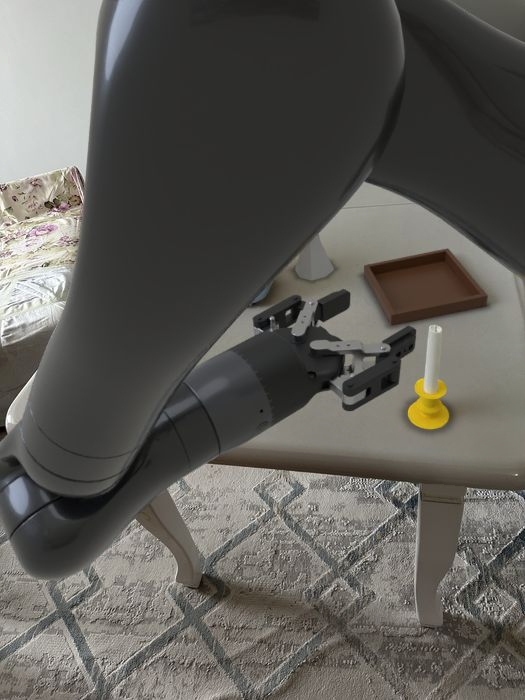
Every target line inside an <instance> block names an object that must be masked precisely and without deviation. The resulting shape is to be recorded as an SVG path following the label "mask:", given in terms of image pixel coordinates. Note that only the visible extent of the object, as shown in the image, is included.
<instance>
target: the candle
mask: <svg viewBox="0 0 525 700" xmlns="http://www.w3.org/2000/svg"><path fill="white" fill-rule="evenodd" d="M426 344H427V345H426V355H425V356H426V357H425V365H424V366H425V367H424V377H422V378H420V379H418V380H417V381H416V382H415V383H414V391H415V394H417V395H418V396H419V397H418V398H417V400H416V401H415V402H413V403H412V404H411V405H410V406H409V407H408V410H407V416H408V419H409V421H410V422H411V423H412V424H413V425H414V426H416V427H417V428H420V429H424V430H438V429H441V428H442V427H444V426H446V424H447V423H448V422H449V419H450V412H449V410H448V408H447V407H446V406H445V405H444V404H443V403H442V400H441V398H443V397H444V396H446V394H447V391H448V389H447V388H448V387H447V385H446V383H445V382H444V381H443V380H441V379H440V371H441V370H440V368H441V358H442V347H443V329H442V327H441V326H440V325H437V324H430V325H429V327H428V333H427V343H426Z"/></svg>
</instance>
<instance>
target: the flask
mask: <svg viewBox="0 0 525 700" xmlns="http://www.w3.org/2000/svg"><path fill="white" fill-rule="evenodd" d="M329 258H330V257H328V254H327V252H326V250H325V248H324V245H323V244H322V241H321V238H320V233H319V234H318V235H317V236H316V237H315V238H314V239H313V240H312V241H311V242H310V243H309V244H308V245H307V246H306V247H305V248H304V250H303V251H302V252H301V253H300V254H299V255H298V259H297V261H296V265H295V268H294V270H295V272H296V274H297V276H298V277H299V278H301V279H304V280H308V281H311V282H312V281H316V280H319V279H323V278H326V277H327V276H329V275H330V274H331V273H332V272H333V271H334V270H335V267H334V266H333V264H332V262H331V260H330V259H329Z"/></svg>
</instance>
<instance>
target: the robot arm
mask: <svg viewBox="0 0 525 700" xmlns="http://www.w3.org/2000/svg"><path fill="white" fill-rule="evenodd" d="M94 47H95V50H94V64H93V77H92V89H91V92H92V93H91V103H90V113H89V114H90V115H89V116H90V117H89V129H88V141H87V154H86V166H85V167H86V168H85V179H84V188H83V189H84V191H83V201H82V211H81V221H80V230H79V231H80V232H79V237H78V244H77V249H76V255H75V260H74V261H75V262H74V266H73V270H72V275H71V281H70V285H69V288H68V292H67V296H66V299H65V303H64V306H63V308H62V312H61V314H60V317H59V319H58V321H57V324H56V326H55V328H54V329H53V331H52V334H51V336H50V338H49V340H48V342H47V345H46V346H45V349H44V351H43V353H42V356H41V358H40V361H39V364H38V367H37V369H36V372H35V376H34V378H33V382H32V385H31V387H30V391H29V394H28V398H27V401H26V403H25V407H24V410H23V414H22V418H21V419H20V420H19V421H18V422H17V423H16V424H15V425H14V426H13V428H12V429H10V431H9V432H8V433H7V434H6V435H5V436H4V438H3V439H1V441H0V524H1V527H2V529H3V530H4V533H5V535H6V536H7V539H8V541H9V544H10V546H11V549H12V550H13V552H14V555H15V558H16V559H17V561H18V563H19V565H20V567H21V568H22V570H23V571H24V572H25V574H27V575H28V576H29V577H31V578H33V579H35V580H39V581H46V582H47V581H49V582H50V581H58V580H59V581H60V580H64V579H67V578H70V577H72V576H75V575H77V574H78V573H80V572H82V571H84V570H85V569H87V568H88V567H89V566H91V565H92V564H93V563H94V562H96V560H98V558H100V557H101V556H102V555H103V554H104V553H105V552H106V551H107V550H108V549H109V547H110V546H112V544H113V543H114V542H115V541H116V540H117V539H118V538H119V537H120V535H122V533H123V532H124V531H125V530H126V529H127V528H128V527H129V525H131V523H133V522H134V521H135V519H137V517H138V516H140V514H141V513H142V512H143V511H144V510H145V509H147V508H148V506H149V505H151V504H152V503H153V502H154V501H155V500H156V499H157V498H159V497H160V496H161V495H162V494H163V493H164V492H165V491H167V490H168V489H169V488H170V487H171V486H174V484H176V483H177V482H178V481H180V480H181V479H183V478H185V477H187V476H188V475H190V474H191V473H193V472H195V471H196V470H198V469H199V468H201V467H202V466H204V465H206V464H208V463H209V462H211V461H213V460H215V458H217V457H218V456H221V455H223V454H225V453H227V452H229V451H231V450H233V449H237V448H238V447H241V446H242V445H244V444H246V443H247V442H249V441H251V440H253V439H254V438H256V437H257V436H259V435H261V434H262V433H264V432H266V431H267V430H269V429H270V428H272V427H274V426H275V425H278V423H280V422H281V421H283V420H285V419H286V418H288V417H290V416H292V415H294V414H295V413H297V412H299V411H300V410H302V409H304V408H305V407H306V406H307V405H308V404H309V402H310V401H311V400H312V399H313V398H314V397H315V396H316V395H317V394H320V393H323V392H329V391H332V392H333V393H335V395H336V396H338V397H339V398H340V399H341V408H342V409H343V410H344V411H346V412H354V411H355V410H357V409H358V408H359V409H360V407H362V406H364V405H366V404H368V403H370V402H371V401H373V400H375V399H376V398H378V397H380V396H382V395H383V394H385V393H387V392H389V391H390V390H392V389H394V388H395V387H397V386H398V385H400V377H401V370H402V369H401V367H402V359H403V358H405V357H406V356H408V355H409V354H411V353H413V352H414V350H415V348H416V343H417V342H416V340H417V329H416V328H414V327H413V326H411V325H407V326H405V327H403V328H402V329H400V330H398V331H397V332H395V333H393V334H391V335H390V336H388V337H386V338H385V339H382V341H381V343H380V342H379V343H378V342H377V343H363V342H362V341H361V340H358V339H357V340H356V339H354V340H343V339H341V338H340V337H338V336H336V335H333V334H331V333H330V332H329V331H328V330H327V329H326V328H324V327H323V326H322V325H319V326H318V324H319V321H320V322H322V323H325V322H327V321H329V320H331V319H332V318H335V317H337V316H338V315H340V314H342V313H344V312H346V311H348V310H349V309H350V307H351V292H350V291H349V290H347V289H345V288H342V289H340V290H337V291H332V292H331V293H329V294H327V295H325V296H323V297H320V298H318V299H317V300H316V299H308V300H302V296H301V295H299V294H292V295H290V296H289V297H287V298H285V299H283V300H281V301H280V302H277V303H276V304H274V305H272V306H270V307H268V308H267V309H265V310H263V311H261V312H259V313H257V314H256V315H254V316H253V317H252V327H253V334H254V335H253V336H251V337H249V338H247V339H245V340H243V341H241V342H240V343H238V344H236V345H233V346H232V347H230V348H228V349H226V350H224V351H222V352H220V353H218V354H216V355H214V356H213V357H211V358H210V357H209V359H207V360H204V361H203V362H201V363H200V361H201V360H202V359H203V358H204V356H205V355H207V353H208V352H209V351H210V350H211V349H212V347H213V346H215V344H216V343H217V342H218V341H219V339H220V338H221V337H223V335H224V334H225V333H226V332H227V331H228V330H229V328H230V327H231V326H232V325H233V324H234V323H236V321H237V320H238V319H239V318H240V316H241V315H242V314H243V313H244V312H245V311H246V310H247V308H248V307H250V306H249V305H250V304H251V303H252V302H253V301H254V299H255V298H256V297H257V296H258V295H259V294H260V293H261V292H262V291H263V290H264V289H265V288H266V287H267V286H268V285H269V284H270V283H271V282H272V281H273V280H274V281H275V279H276V278H277V277H278V276H279V275H280V274H281V273H282V272H283V271H284V270H285V269H286V268H287V267H288V266H289V265H290V264H291V263H292V262H293V261H294V260H296V258H297V257H299V255H300V253H301V252H302V251H303V250H304V248H305V247H306V246H307V245H308V244H309V243H310V242H311V241H312V240H313V239H314V238H315V237H316V236H317V235H318V234H319V235H320V233H321V232H322V231H323V230H324V229H325V228H326V227H327V225H328V224H329V223H331V221H332V220H333V219H334V218H335V217H336V216H337V215H338V213H339V212H340V211H341V210H342V209H343V208H344V207H345V206H346V205H347V203H348V202H349V201H350V200H351V199H352V198H353V196H354V195H355V194H356V193H357V191H358V190H359V189H360V188H361V186H362V185H363V184H364V183H366V184H369V185H372V186H375V187H377V188H380V189H383V190H386V191H388V192H391V193H393V194H395V195H397V196H400V197H402V198H404V199H406V200H408V201H410V202H412V203H414V204H415V205H417V206H420V207H422V208H423V209H425V210H426V211H428V212H429V213H431V214H433V215H434V216H436V217H437V218H439V219H440V220H441V221H443V222H444V223H445V224H447V225H448V226H450V227H451V228H453V230H455V231H457V232H458V234H461V235H462V236H463V237H465V238H466V239H467V240H468V241H470V242H471V243H472V244H474V245H475V246H476V247H477V248H479V249H480V250H482V251H483V252H484V253H485V254H487V255H488V256H489V257H491V258H492V259H493V260H495V261H496V262H497V263H499V264H500V265H501V266H502V267H504V268H505V269H506V270H508V271H509V272H511V273H512V274H513V275H515V276H516V277H518V278H519V279H521V280H522V281H524V282H525V42H524V41H522V40H520V39H518V38H516V37H514V36H512V35H510V34H508V33H506V32H504V31H502V30H500V29H499V28H496V27H494V26H492V25H491V24H490V23H488V22H486V21H484V20H482V19H481V18H479V17H477V16H475V15H474V14H472V13H471V12H468V11H467V10H466V9H464V8H463V7H461V6H460V5H458V4H457V3H455V2H453V1H452V0H102V1H101V3H100V8H99V11H98V17H97V23H96V31H95V46H94ZM274 281H273V282H274ZM252 304H253V303H252ZM288 311H290V312H289V313H287V312H288ZM291 326H292V327H291ZM346 355H352V363H351V364H349V365H345V363H346ZM366 358H375V359H374V360H364V359H366Z"/></svg>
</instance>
